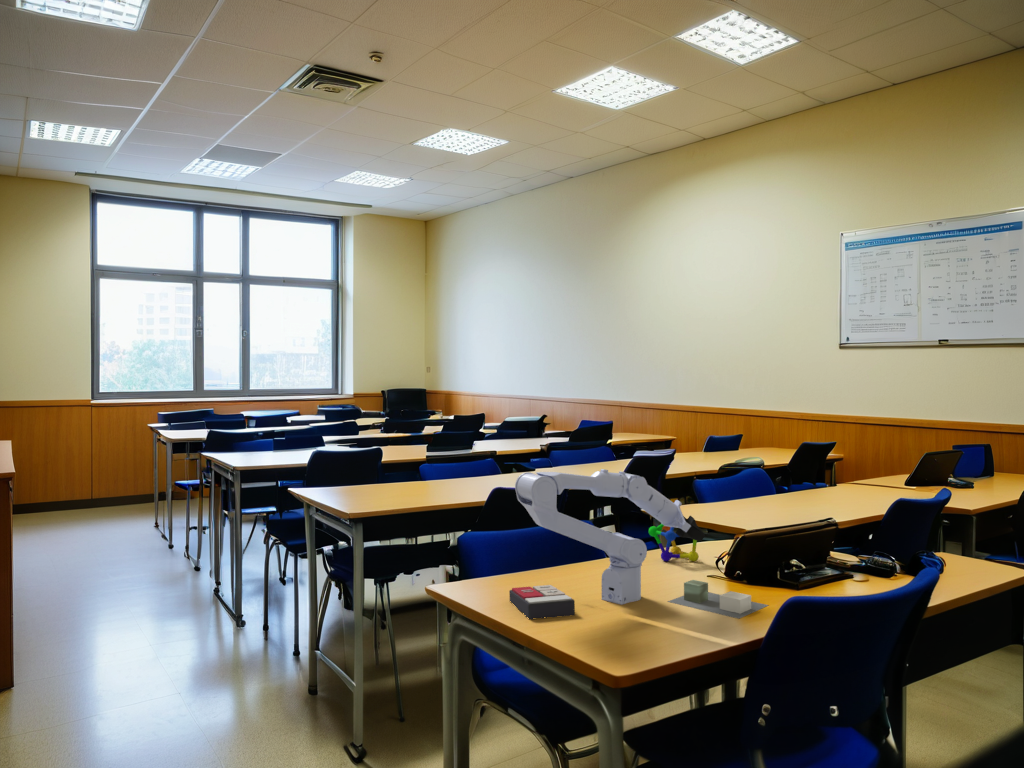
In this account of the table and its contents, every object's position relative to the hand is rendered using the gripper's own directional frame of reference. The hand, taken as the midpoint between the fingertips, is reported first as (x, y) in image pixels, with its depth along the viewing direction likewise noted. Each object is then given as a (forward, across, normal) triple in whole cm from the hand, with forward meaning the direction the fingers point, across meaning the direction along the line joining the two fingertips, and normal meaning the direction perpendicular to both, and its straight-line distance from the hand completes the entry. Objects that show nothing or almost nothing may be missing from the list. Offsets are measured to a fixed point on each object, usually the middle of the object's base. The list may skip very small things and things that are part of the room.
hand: (694, 531), depth 178 cm
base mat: (+5, -16, +11) cm, 20 cm away
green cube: (+2, -12, +12) cm, 18 cm away
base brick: (+5, -21, +8) cm, 23 cm away
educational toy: (+22, +28, +12) cm, 37 cm away
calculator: (-26, -6, +35) cm, 44 cm away
